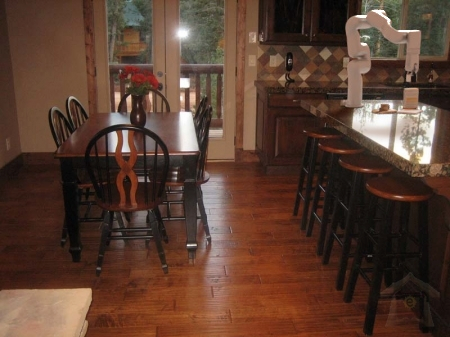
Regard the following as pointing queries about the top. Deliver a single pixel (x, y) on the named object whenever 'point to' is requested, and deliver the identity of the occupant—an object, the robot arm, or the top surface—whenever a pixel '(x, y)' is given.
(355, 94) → the robot arm
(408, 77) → the cap
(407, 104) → the supplement box
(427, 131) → the top surface
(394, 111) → the tan round plate
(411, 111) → the mat
